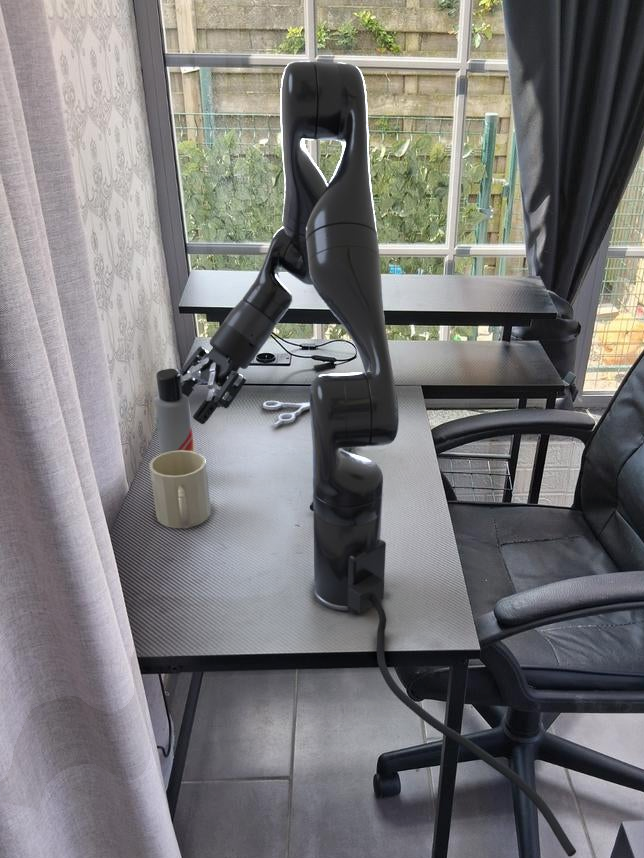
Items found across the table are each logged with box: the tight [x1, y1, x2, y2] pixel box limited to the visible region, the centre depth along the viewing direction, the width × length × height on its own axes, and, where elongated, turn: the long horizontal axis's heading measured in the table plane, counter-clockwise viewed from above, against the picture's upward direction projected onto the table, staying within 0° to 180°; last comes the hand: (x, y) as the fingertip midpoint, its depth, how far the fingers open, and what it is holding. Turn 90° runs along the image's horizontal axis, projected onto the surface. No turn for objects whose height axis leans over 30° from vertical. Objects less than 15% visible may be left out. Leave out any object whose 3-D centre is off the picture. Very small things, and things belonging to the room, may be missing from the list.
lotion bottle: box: [153, 368, 195, 455], centre depth 134 cm, size 6×6×20 cm
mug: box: [148, 450, 211, 529], centre depth 126 cm, size 12×9×10 cm
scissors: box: [262, 400, 310, 428], centre depth 165 cm, size 11×1×20 cm
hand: (186, 411), depth 134 cm, fingers open, 8 cm apart
